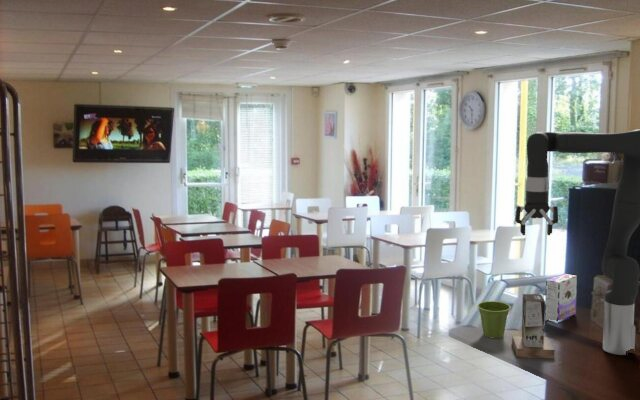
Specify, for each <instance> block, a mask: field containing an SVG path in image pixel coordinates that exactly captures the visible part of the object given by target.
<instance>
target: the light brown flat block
mask: <svg viewBox="0 0 640 400" xmlns="http://www.w3.org/2000/svg"><path fill="white" fill-rule="evenodd" d="M511 345H512V347H514V348H513V350H514V353H515V352H516V353H515V355H516V357H517V358H523V359H525V357H527V359H528V358H529V359H531V358H532V359H555V352H556V350H555V348H554V346H553V344H552V342H551V341H550V339H549V337H547V336H544V345H543V348H538V347H525V346H524V343H523V340H522V335H521V336H516V335H515V336H514V335H513V336H512V339H511Z"/></svg>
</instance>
